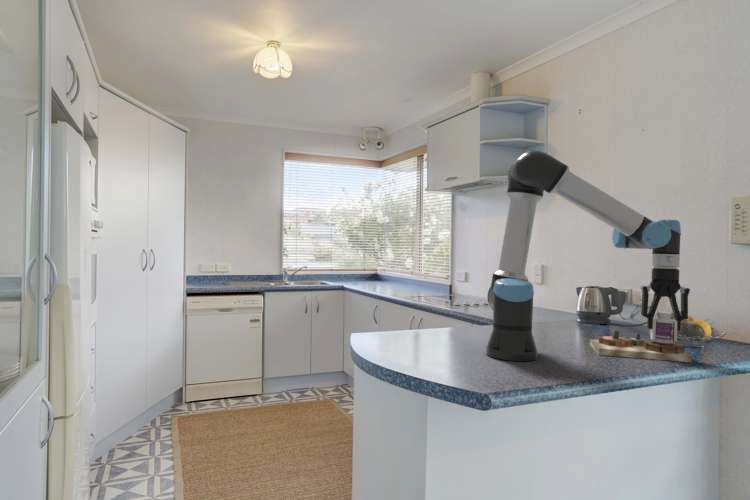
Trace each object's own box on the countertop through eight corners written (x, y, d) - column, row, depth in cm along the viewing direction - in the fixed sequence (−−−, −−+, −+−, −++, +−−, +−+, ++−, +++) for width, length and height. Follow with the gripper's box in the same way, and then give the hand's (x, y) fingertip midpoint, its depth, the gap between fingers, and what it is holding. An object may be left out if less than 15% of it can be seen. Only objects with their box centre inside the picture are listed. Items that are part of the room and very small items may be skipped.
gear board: (599, 354, 150) (599, 334, 150) (590, 344, 167) (590, 326, 167) (692, 362, 143) (692, 341, 143) (673, 351, 160) (673, 332, 160)
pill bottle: (676, 344, 148) (677, 313, 148) (657, 343, 149) (658, 312, 149) (669, 341, 153) (669, 311, 153) (651, 340, 154) (651, 310, 154)
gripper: (636, 267, 150) (634, 339, 150) (703, 269, 145) (700, 344, 145) (630, 266, 157) (628, 335, 157) (693, 268, 152) (691, 340, 152)
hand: (663, 339), depth 151 cm, fingers closed on pill bottle, 5 cm apart
